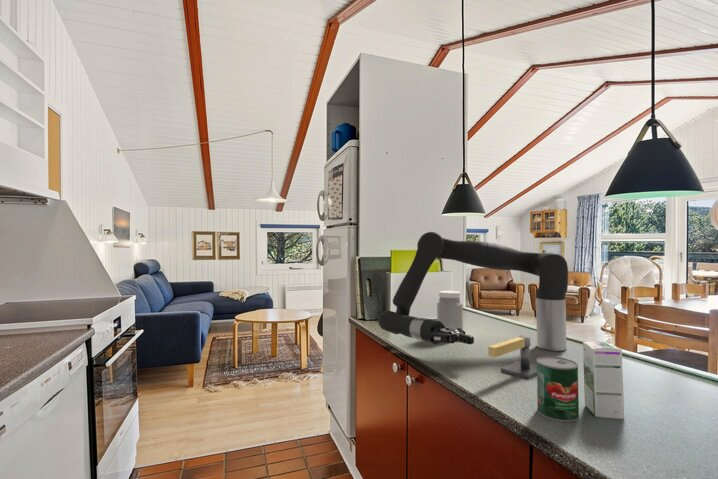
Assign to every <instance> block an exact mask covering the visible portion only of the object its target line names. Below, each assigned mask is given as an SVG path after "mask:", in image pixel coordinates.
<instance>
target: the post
mask: <svg viewBox="0 0 718 479" xmlns="http://www.w3.org/2000/svg"><path fill="white" fill-rule="evenodd" d="M519 350H520V352H519V353H520V355H519V356H520V357H519V358H520V359H519V360H518V361H516V362H513V363H510V364H507V365H506V366H503V367H501V368H500V372H502V373H505V374H508V375H512V376H516V377H520V378H524V379H527V380H530V379H532V378H534V377H537V364H533V363H530V362H531V361H530V359H531V358H530V346H525V347H523V348H521V349H519Z"/></svg>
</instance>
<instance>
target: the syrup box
mask: <svg viewBox="0 0 718 479" xmlns="http://www.w3.org/2000/svg"><path fill="white" fill-rule="evenodd" d="M582 351H583V352H582V353H583V354H582V355H583V356H582V357H583V358H582V359H583V360H582V361H583V380H584V382H583V386H584V388H583V389H584V406H585V407H586V408H587V410H588V411H590V413H591V414H592V415H593V416H594V417H597V418H604V419H616V420H617V419H618V420H624V419H625V399H624V398H625V395H624V394H625V393H624V374H623V373H624V372H623V353H622V352H623V351H622V348H620V347H618V346H616V345H615V344H612V343H611V342H606V341H582Z"/></svg>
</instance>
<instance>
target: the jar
mask: <svg viewBox="0 0 718 479" xmlns="http://www.w3.org/2000/svg"><path fill="white" fill-rule="evenodd" d="M461 294H462V292H461V291H458V290H440V291H439V292H438V297H439V299H438V302H437V303H436V304H437V307H436V311H437V313H436V314H437V315H436V316H437V317H436V318H437V319H436V320H437V321H440V322H442V323H443V325H444V327H450V328H451V329H455V330H457V328H461V329H462V330H463V331H464V322H463V321H464V317H463V315H464V312H463V310H464V309H463V306H464V305H463V303H462V302H461V298H460V297H462V296H461Z"/></svg>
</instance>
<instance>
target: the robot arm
mask: <svg viewBox="0 0 718 479" xmlns="http://www.w3.org/2000/svg"><path fill="white" fill-rule="evenodd" d="M415 252H416V253H415V256H414V258H413V260H412V262H411V264H410V266H409V269H408V270H407V272H406V274H405V275H404V277H403V279H402V281H401V282H400V284H399V286H398V287H397V290H396V292H395V294H394V296H393V299H392V304H393V305H394V307H396V310H395V311H391V310H385V311H383V312H381V313H380V314H379V316H378V318H377V324H378V326H379V327H380V329H382V330H383V331H385V332H388V333H391V334H394V335H400V334H401V335H402V336H405V337H408V338H412V339H415V340H417V341H420V342H424V343H428V344H430V345H431V344H432V345H439V344H455V343H457V344H460V343H462V344H467V345H473V344H475V337H474V335H468V334H466V331H465V330H464V329H463V330H462V329H461V328H457V330H455V329H451V328H450V327H444V325H443V323H442V322H440V321H437V319H431V318H426V317H417V316H411V315H410V312H411V307H412V306H413V303H414V301H415V300H416V297H417V295H418V293H419V291H420V289H421V286H422V284H423V282H424V280H425V277H426V275H427V273H428V271H429V270H430V269H431V266H432V265H433V264H434V262H435V261H436V259H440V260H452V261H455V262H456V261H457V262H460V263H464V264H467V265H471V266H475V267H480V268H484V269H491V270H498V271H500V270H501V271H518V272H523V273H527V274H530V275H534V276H536V277H537V276H538V277H539V280H538V281H539V283H538V287H537V289H536V290H535V308H536V309H535V310H536V312H535V313H536V347H538V348H539V349H541V350H547V351H553V352H555V351H557V352H560V351H561V352H562V351H566V350H567V311H566V309H567V308H566V306H567V305H566V302H567V301H566V295H567V292H568V287H569V285H568V284H569V267H568V263H567V259H566V258H565V257H564V256H563V255H561V254H559V253H556V252H533V251H532V252H531V251H522V250H518V249H515V248H513V247H509V246H506V245H504V244H497V243H493V242H487V241H478V240H453V239H449V238H446V237H442V235H441V234H439V233H437V232H435V231H428V232H425V233H424V234H422V235H421V236H420V237H419V239H418V241H417V250H416V251H415Z"/></svg>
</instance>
